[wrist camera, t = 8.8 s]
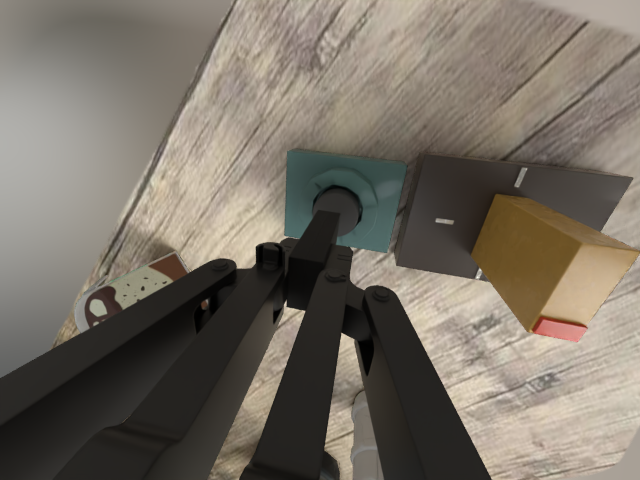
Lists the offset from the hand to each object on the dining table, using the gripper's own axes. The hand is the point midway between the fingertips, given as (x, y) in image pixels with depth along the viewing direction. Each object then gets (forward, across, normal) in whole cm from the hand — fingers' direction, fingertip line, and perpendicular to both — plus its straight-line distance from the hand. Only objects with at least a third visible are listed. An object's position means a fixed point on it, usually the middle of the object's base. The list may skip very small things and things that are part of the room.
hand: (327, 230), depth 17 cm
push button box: (+8, 0, 0) cm, 8 cm away
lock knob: (+6, +13, 0) cm, 14 cm away
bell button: (+5, 0, 0) cm, 5 cm away
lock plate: (+8, +13, 0) cm, 16 cm away
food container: (+9, -20, -15) cm, 26 cm away
